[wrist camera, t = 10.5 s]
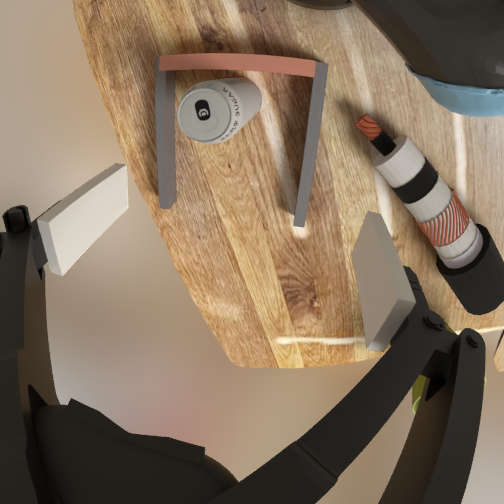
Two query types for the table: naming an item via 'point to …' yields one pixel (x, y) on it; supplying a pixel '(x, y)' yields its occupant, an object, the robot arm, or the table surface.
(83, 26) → the table surface
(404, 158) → the cable
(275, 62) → the guide lane
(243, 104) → the energy drink can
